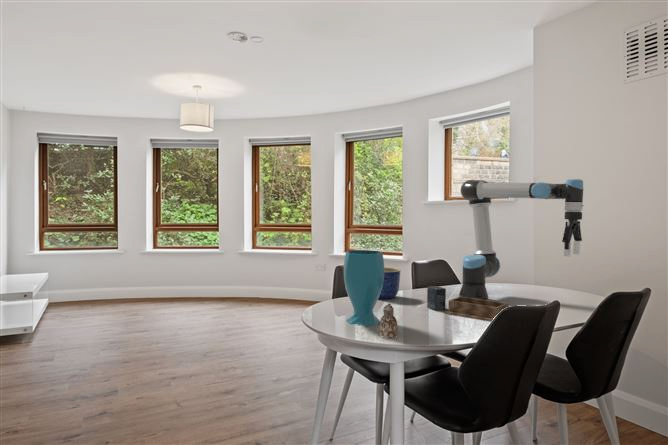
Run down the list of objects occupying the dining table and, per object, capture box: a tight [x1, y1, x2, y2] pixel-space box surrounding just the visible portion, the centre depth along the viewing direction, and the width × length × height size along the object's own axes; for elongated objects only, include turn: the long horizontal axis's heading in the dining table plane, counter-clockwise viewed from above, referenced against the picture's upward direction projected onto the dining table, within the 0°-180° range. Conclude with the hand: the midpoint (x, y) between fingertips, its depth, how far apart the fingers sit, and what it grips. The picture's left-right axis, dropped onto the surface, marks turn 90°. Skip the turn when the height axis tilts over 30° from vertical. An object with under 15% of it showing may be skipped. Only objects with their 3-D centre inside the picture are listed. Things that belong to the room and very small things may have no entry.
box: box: [426, 285, 447, 312], centre depth 218 cm, size 8×6×11 cm
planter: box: [378, 266, 401, 300], centre depth 244 cm, size 17×17×15 cm
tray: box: [444, 296, 509, 322], centre depth 207 cm, size 25×16×6 cm, turn 50°
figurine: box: [378, 303, 399, 338], centre depth 173 cm, size 7×7×12 cm
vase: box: [343, 249, 385, 326], centre depth 194 cm, size 17×17×30 cm
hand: (571, 255), depth 218 cm, fingers open, 13 cm apart
